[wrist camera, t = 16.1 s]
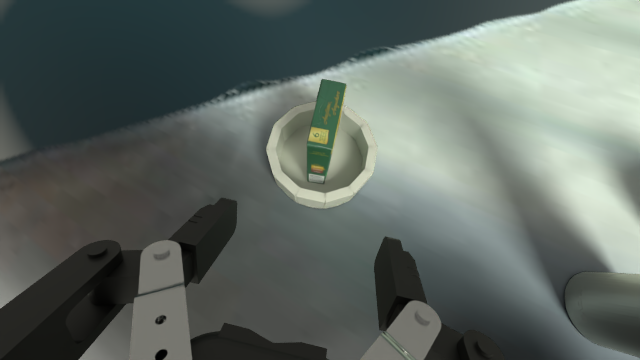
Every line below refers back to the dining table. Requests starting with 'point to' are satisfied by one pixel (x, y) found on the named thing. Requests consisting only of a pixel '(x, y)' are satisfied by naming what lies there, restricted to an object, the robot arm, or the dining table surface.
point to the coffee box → (324, 129)
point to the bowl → (345, 166)
